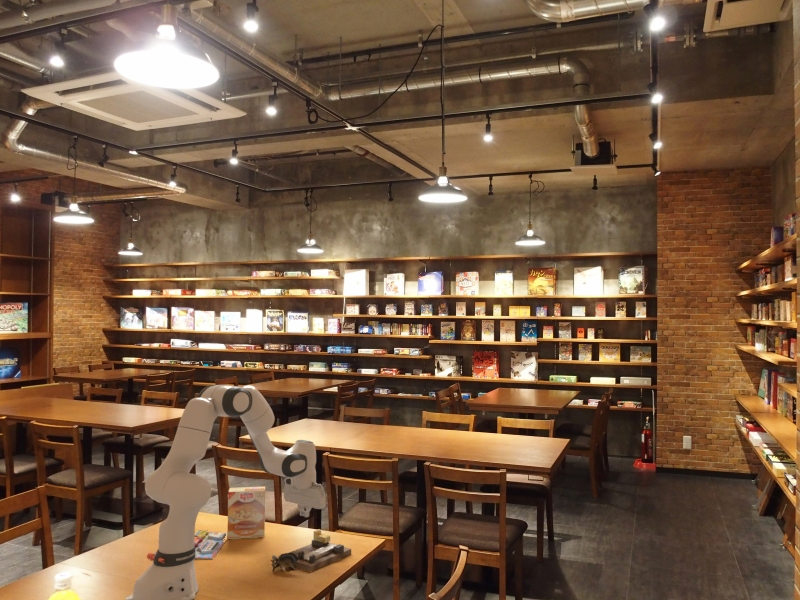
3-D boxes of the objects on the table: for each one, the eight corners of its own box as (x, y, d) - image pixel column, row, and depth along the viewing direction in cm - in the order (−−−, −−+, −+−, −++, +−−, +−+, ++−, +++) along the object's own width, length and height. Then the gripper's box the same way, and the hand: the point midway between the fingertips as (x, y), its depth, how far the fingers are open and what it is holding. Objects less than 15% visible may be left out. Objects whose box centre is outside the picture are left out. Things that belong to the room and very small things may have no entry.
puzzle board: (212, 561, 234) (213, 554, 234) (150, 561, 233) (150, 554, 234) (231, 534, 265) (232, 527, 265) (176, 534, 264) (177, 528, 264)
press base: (310, 572, 223) (310, 559, 223) (279, 561, 232) (279, 549, 233) (351, 554, 241) (351, 542, 241) (320, 545, 250) (321, 534, 250)
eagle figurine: (275, 574, 218) (300, 565, 222) (270, 553, 221) (294, 545, 225) (273, 578, 224) (297, 570, 228) (268, 558, 227) (292, 550, 231)
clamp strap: (309, 562, 227) (309, 558, 227) (301, 559, 229) (301, 556, 229) (338, 548, 239) (338, 545, 239) (330, 546, 242) (330, 543, 242)
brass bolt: (324, 543, 239) (324, 534, 240) (313, 540, 243) (313, 531, 243) (330, 541, 242) (330, 532, 242) (318, 537, 245) (319, 529, 246)
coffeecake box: (227, 540, 255) (227, 491, 256) (228, 534, 262) (229, 487, 263) (264, 538, 258) (265, 490, 259) (264, 532, 265) (265, 485, 266)
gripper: (329, 483, 246) (329, 519, 245) (292, 475, 258) (292, 509, 257) (318, 486, 241) (318, 523, 240) (281, 478, 253) (281, 513, 252)
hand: (304, 516), depth 249 cm, fingers closed
